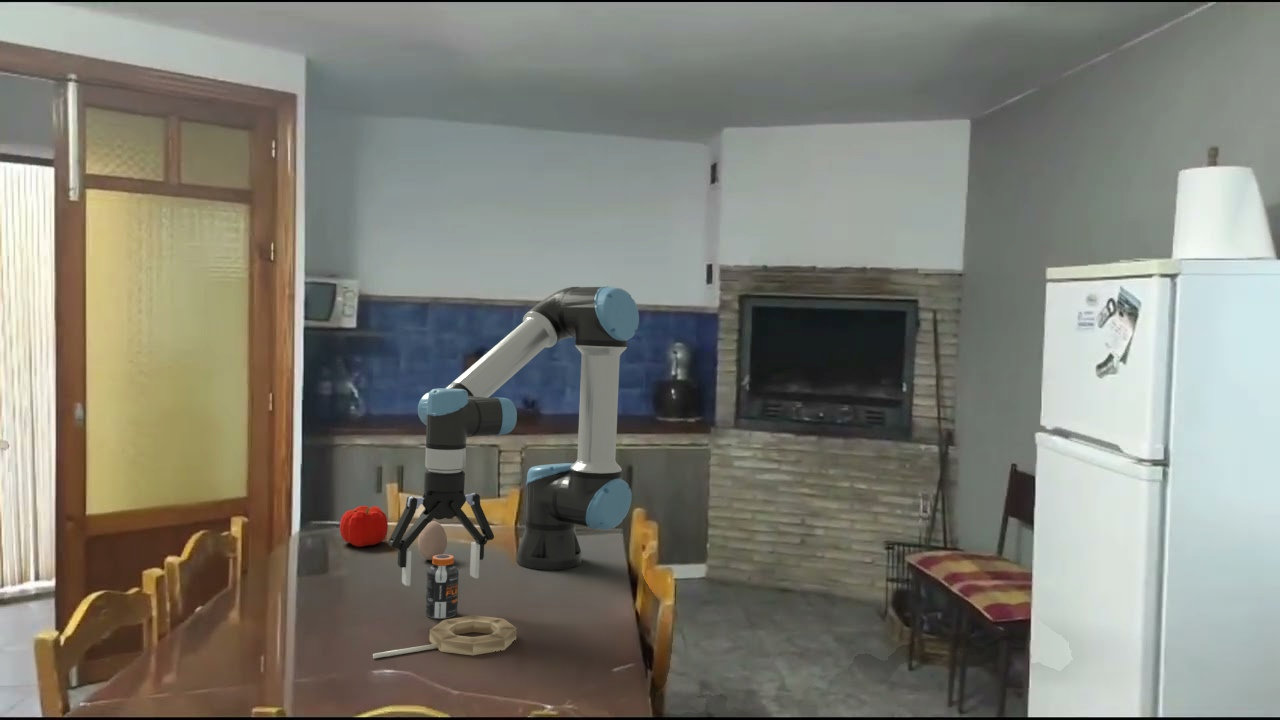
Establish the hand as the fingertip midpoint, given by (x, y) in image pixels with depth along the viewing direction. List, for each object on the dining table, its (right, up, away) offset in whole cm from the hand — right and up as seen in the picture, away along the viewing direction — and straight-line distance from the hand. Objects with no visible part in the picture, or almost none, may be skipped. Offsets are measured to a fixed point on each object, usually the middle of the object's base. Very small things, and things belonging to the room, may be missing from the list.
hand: (440, 580), depth 179 cm
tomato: (-30, -4, +52) cm, 61 cm away
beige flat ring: (+9, -8, -13) cm, 17 cm away
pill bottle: (0, -7, +1) cm, 7 cm away
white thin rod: (-2, -8, -20) cm, 22 cm away
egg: (-11, -5, +40) cm, 42 cm away
